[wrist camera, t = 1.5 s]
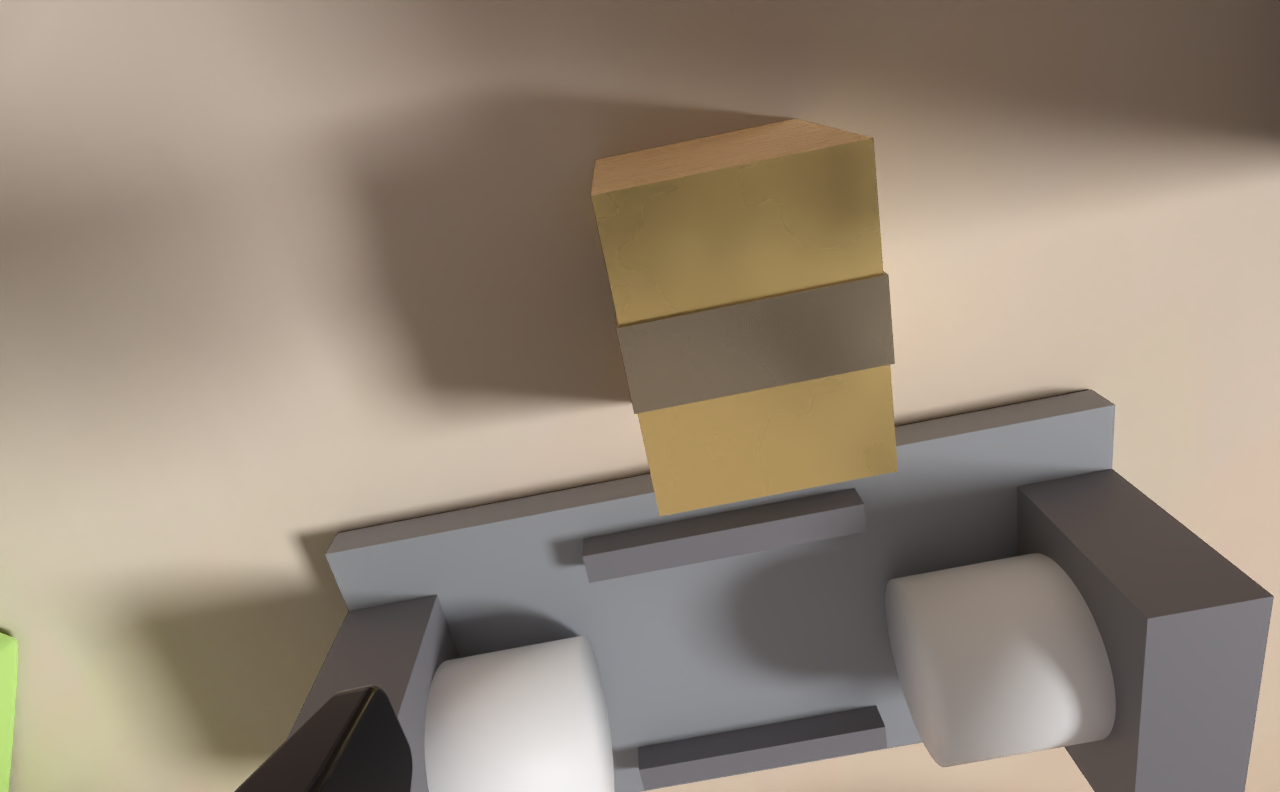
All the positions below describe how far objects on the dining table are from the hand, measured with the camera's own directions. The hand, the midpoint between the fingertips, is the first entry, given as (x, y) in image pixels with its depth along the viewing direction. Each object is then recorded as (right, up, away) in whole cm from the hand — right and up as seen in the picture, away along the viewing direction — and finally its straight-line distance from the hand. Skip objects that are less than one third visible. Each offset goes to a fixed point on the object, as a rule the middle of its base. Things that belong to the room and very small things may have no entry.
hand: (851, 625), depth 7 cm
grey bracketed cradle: (+1, -4, +15) cm, 16 cm away
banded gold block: (0, +5, +11) cm, 12 cm away
